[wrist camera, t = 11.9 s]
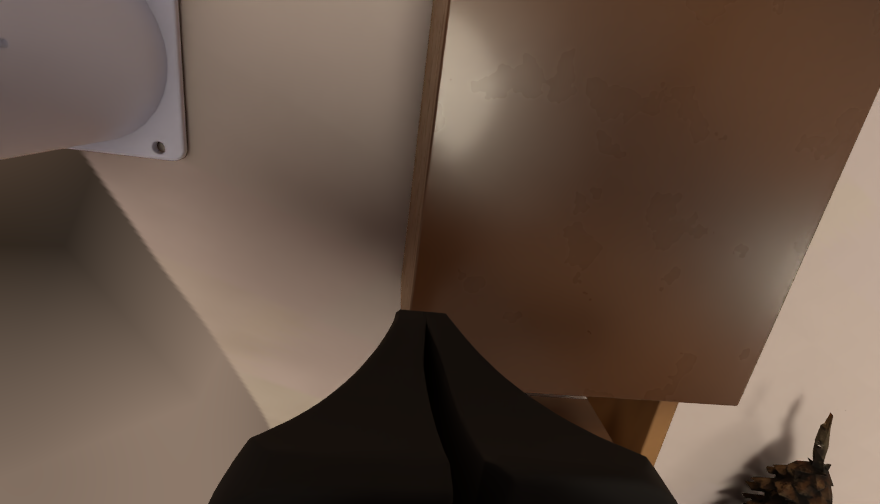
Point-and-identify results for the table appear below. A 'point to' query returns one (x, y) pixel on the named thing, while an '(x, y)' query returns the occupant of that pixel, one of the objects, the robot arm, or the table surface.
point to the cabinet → (629, 181)
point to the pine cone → (797, 478)
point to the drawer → (618, 420)
